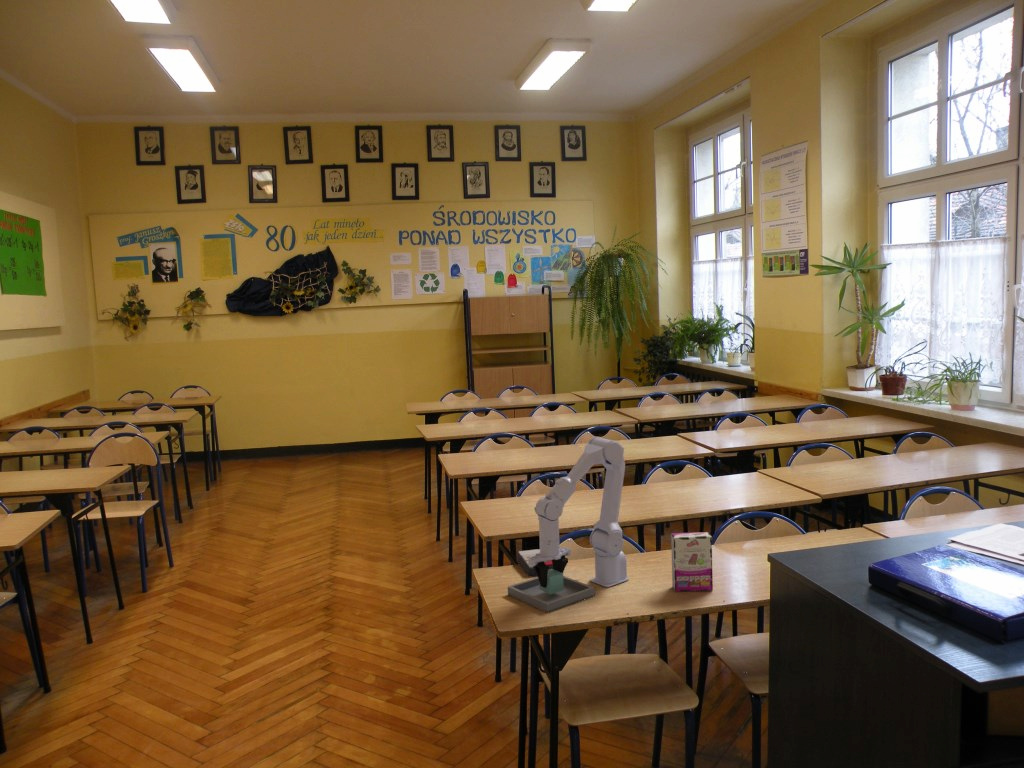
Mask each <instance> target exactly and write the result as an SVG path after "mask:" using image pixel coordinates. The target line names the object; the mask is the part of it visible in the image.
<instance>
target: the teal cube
mask: <svg viewBox="0 0 1024 768" xmlns="http://www.w3.org/2000/svg"><path fill="white" fill-rule="evenodd" d="M563 576H564V572H563V573H561V572H559V571H556V570H554V569H550V570H548V574H547V587H546V588H544V587H541V586H540V582H539V589H540V590H542V591H544V592H546V593H549V594H553V593H556V592H559V591H562V590H564V586H563Z"/></svg>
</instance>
